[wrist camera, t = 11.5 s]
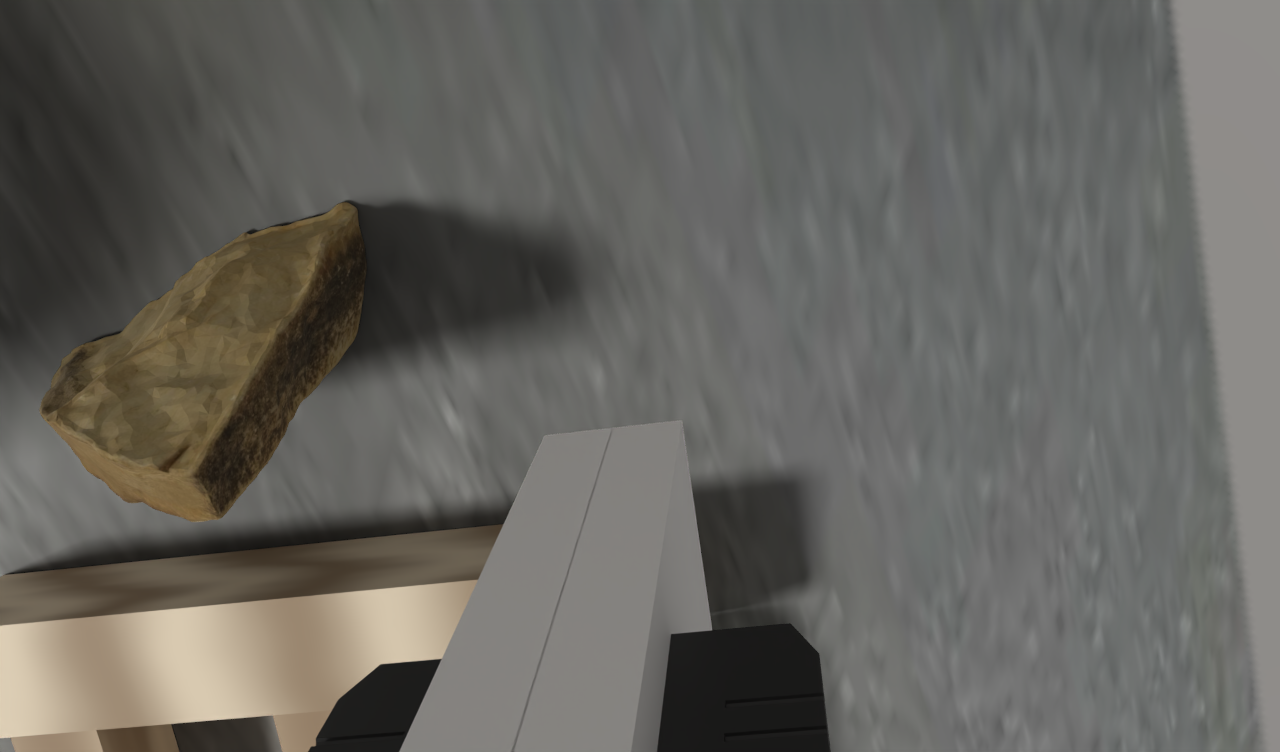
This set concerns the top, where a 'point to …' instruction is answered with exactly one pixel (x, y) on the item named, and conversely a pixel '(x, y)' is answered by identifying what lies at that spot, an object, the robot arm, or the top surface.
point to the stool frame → (222, 637)
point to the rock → (214, 367)
